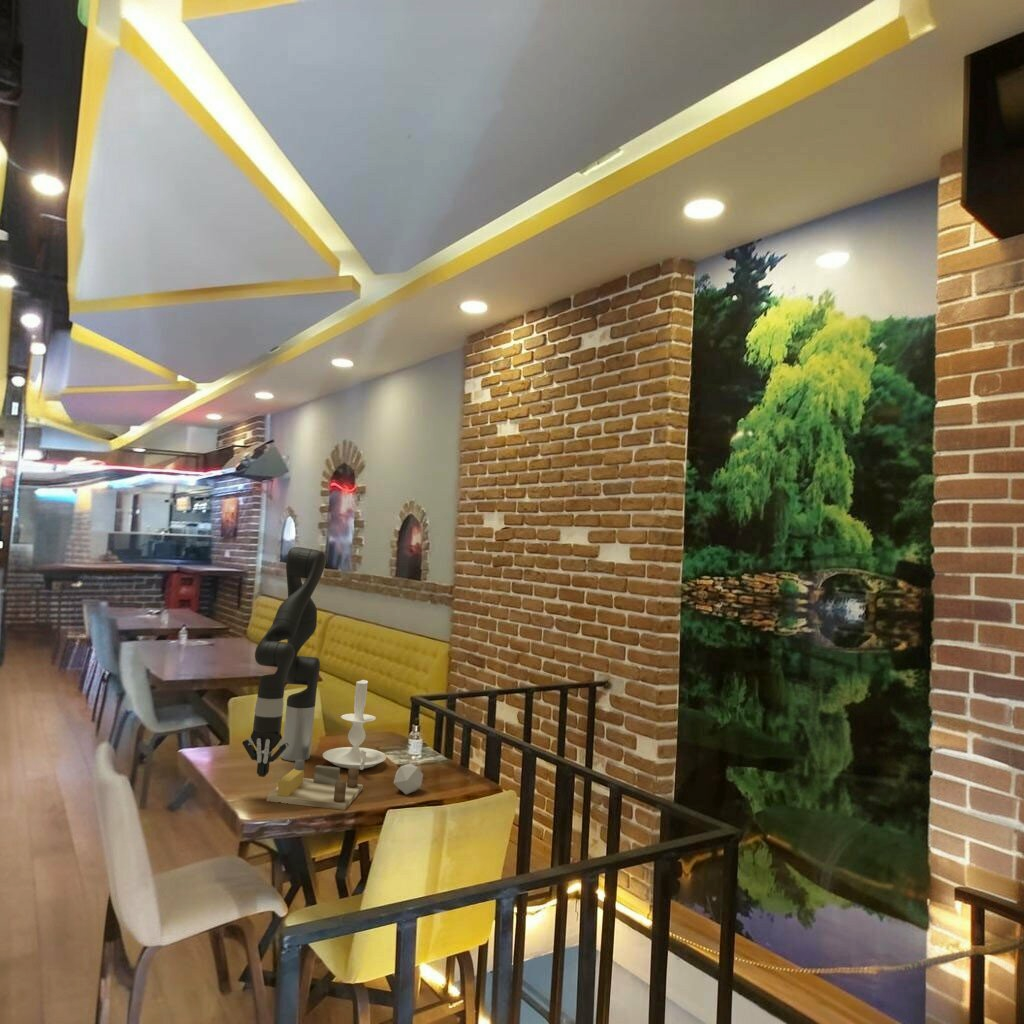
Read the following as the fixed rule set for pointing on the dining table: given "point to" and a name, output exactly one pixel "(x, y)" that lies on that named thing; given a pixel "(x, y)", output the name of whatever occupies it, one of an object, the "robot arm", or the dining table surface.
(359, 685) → the candlestick
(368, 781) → the dining table surface
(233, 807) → the dining table surface
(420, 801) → the dining table surface
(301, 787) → the seat board
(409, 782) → the die
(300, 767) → the bar
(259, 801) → the dining table surface
